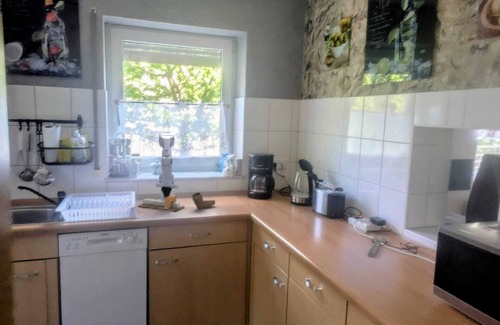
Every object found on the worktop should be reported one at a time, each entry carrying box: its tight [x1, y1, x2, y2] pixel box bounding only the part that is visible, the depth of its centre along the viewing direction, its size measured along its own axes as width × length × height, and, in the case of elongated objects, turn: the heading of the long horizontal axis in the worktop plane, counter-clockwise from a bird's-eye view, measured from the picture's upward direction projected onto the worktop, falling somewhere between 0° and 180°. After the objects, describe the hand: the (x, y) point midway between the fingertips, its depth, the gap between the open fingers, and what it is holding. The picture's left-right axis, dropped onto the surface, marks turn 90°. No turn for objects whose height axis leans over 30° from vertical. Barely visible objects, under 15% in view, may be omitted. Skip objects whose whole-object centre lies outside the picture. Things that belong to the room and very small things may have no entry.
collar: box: [165, 194, 177, 208], centre depth 208 cm, size 3×8×6 cm, turn 161°
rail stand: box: [137, 198, 185, 213], centre depth 210 cm, size 26×10×4 cm, turn 71°
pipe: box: [190, 192, 216, 210], centre depth 212 cm, size 6×17×10 cm, turn 133°
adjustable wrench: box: [367, 236, 388, 258], centre depth 152 cm, size 25×6×2 cm, turn 146°
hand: (166, 199), depth 208 cm, fingers closed
